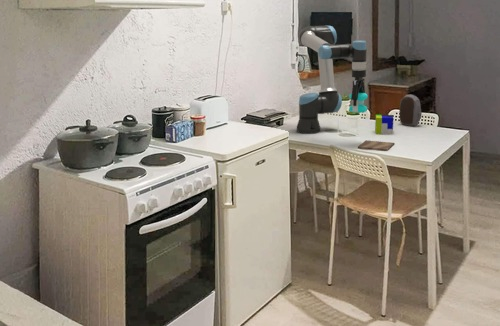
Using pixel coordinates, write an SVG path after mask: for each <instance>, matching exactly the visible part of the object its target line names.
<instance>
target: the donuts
mask: <svg viewBox="0 0 500 326" xmlns="http://www.w3.org/2000/svg"><path fill="white" fill-rule="evenodd" d="M348 96H349V97H348V98H349V99H350V100H351V98H352V93H349V95H348ZM368 96H369V95H368V94H367V93H366V92H365V93H358V99H357V100H358V102H359V101H362V100H364V101H365V100H367V99H368ZM348 111H349V112H351V113H355V114H357V113H362V114H363V113H366V112H367V111H368V107H367V106H366V105H365V104H364V105H359V104H358V112H353V104H352V105H350V106H349V108H348Z"/></svg>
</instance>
